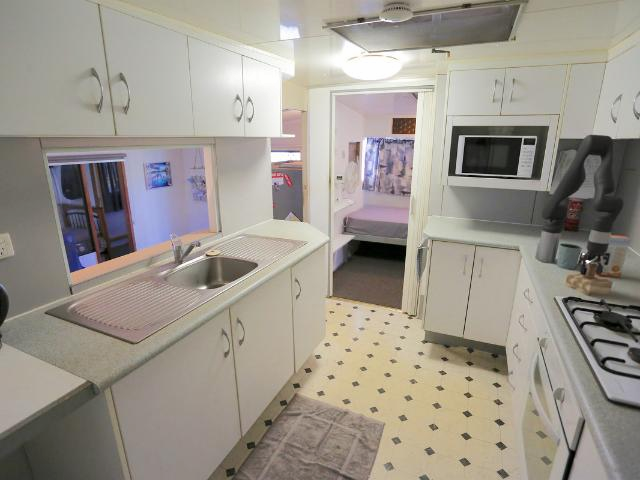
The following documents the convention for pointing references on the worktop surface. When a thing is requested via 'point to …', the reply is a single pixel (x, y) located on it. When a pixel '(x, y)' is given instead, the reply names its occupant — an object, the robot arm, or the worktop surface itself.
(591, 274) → the walnut peg
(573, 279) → the oak bore block
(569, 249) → the teal ceramic cylinder
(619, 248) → the cracker box
